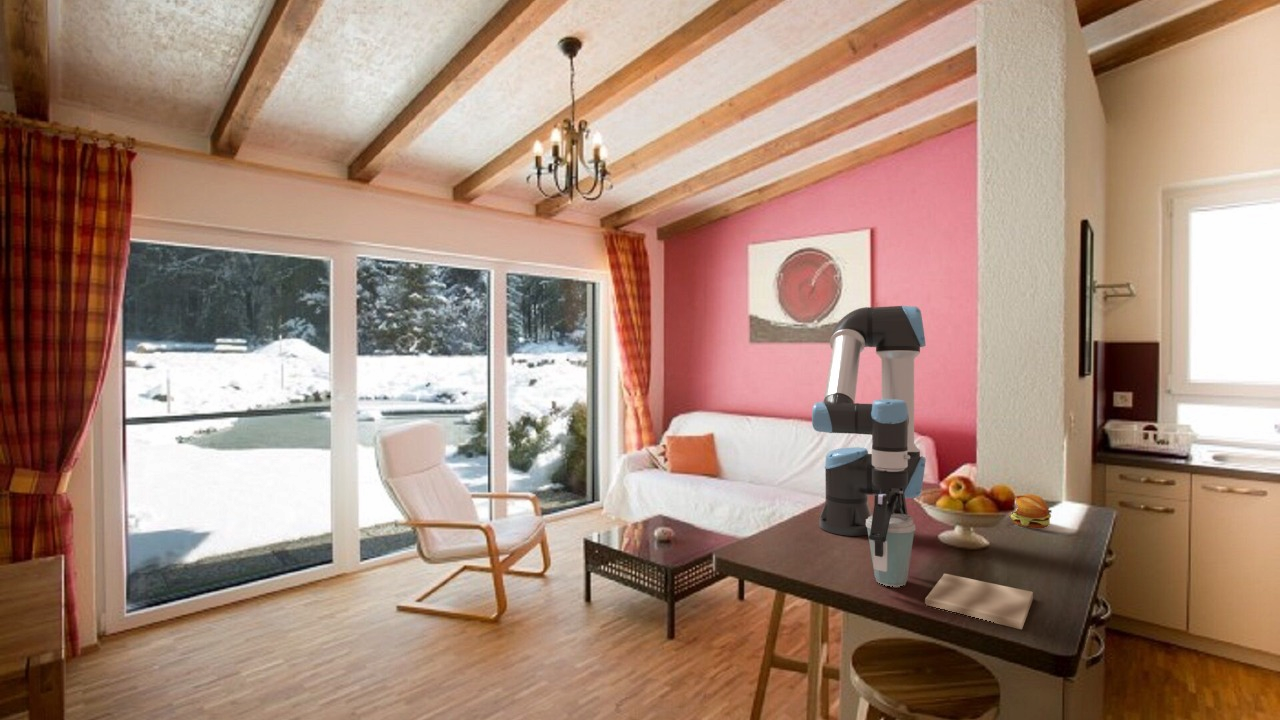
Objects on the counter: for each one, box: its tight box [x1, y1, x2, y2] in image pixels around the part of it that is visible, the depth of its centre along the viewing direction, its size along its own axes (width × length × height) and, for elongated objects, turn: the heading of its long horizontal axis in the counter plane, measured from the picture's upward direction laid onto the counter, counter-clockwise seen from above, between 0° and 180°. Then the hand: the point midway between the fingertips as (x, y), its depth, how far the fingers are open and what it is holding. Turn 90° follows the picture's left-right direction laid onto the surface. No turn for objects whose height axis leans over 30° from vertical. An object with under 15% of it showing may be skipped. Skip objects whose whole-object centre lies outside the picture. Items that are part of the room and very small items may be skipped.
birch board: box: [924, 573, 1034, 630], centre depth 126 cm, size 17×17×2 cm
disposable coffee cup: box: [866, 513, 917, 588], centre depth 137 cm, size 11×11×15 cm
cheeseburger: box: [1010, 493, 1052, 530], centre depth 177 cm, size 10×11×10 cm
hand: (889, 561), depth 137 cm, fingers open, 13 cm apart
